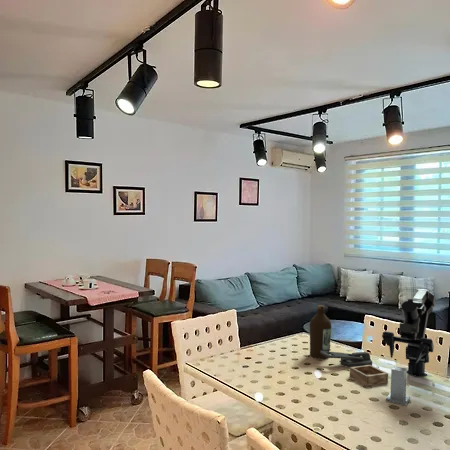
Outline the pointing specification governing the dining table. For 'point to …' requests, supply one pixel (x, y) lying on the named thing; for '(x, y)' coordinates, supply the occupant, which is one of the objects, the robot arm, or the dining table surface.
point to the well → (368, 375)
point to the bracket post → (398, 386)
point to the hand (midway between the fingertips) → (403, 359)
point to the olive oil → (320, 334)
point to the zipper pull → (350, 358)
